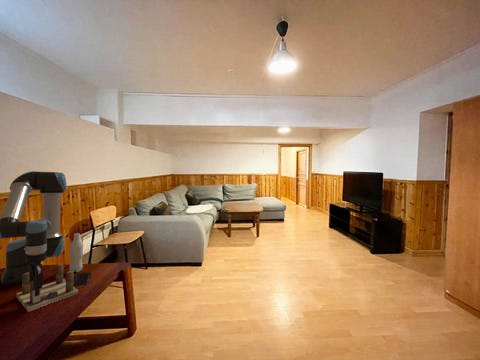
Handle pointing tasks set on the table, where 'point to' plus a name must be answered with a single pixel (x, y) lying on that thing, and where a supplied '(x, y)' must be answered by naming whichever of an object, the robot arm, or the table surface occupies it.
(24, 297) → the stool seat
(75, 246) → the water bottle
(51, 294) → the hinged leg
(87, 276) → the phone
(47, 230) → the robot arm
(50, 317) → the table surface
